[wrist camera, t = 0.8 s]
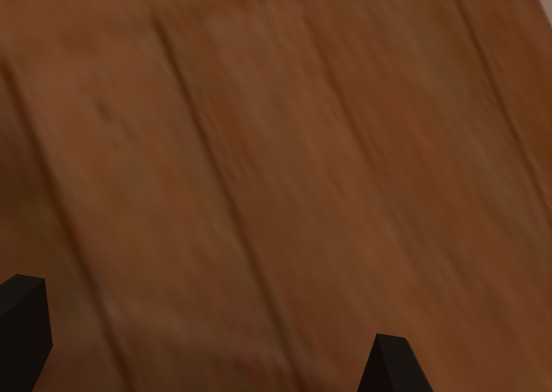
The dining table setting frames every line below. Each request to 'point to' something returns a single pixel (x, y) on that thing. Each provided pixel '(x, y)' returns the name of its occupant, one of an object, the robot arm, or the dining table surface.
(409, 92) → the dining table surface
